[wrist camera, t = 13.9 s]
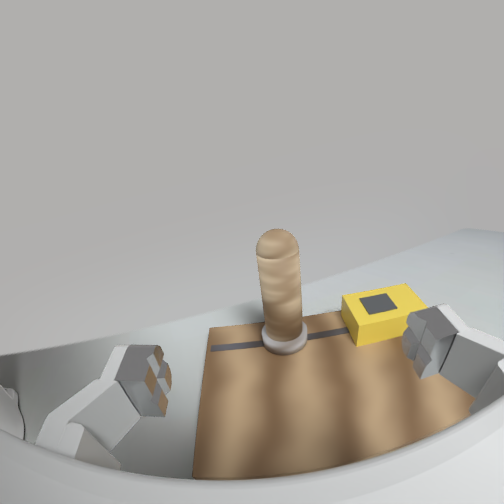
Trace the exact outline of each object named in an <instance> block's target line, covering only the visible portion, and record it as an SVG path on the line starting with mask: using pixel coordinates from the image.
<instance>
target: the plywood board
mask: <svg viewBox="0 0 504 504" xmlns="http://www.w3.org/2000/svg"><path fill="white" fill-rule="evenodd" d="M302 321H303V322H304V323H305V324H306V326H307V343H306V345H305V347H304V348H303V349H302V350H300V351H299V352H297V353H294V354H290V355H277V354H273V353H271V352H269V351H268V350H267V349H266V348H265V347H264V345H263V338H262V329H263V327H264V325H265V322H261V323H253V324H244V325H235V326H225V327H214V328H210V330H209V337H208V344H207V351H206V359H205V366H204V374H203V382H202V390H201V398H200V406H199V415H198V424H197V433H196V442H195V452H194V462H193V473H192V477H193V478H194V479H195V480H247V479H262V478H273V477H282V476H290V475H297V474H303V473H309V472H315V471H320V470H325V469H330V468H335V467H339V466H343V465H347V464H351V463H355V462H359V461H362V460H366V459H369V458H372V457H376V456H379V455H382V454H385V453H388V452H391V451H394V450H396V449H399V448H402V447H404V446H407V445H410V444H412V443H415V442H417V441H420V440H422V439H424V438H427V437H429V436H431V435H433V434H435V433H438V432H440V431H442V430H444V429H446V428H448V427H450V426H452V425H454V424H456V423H458V422H460V421H462V420H463V419H465V418H467V417H469V416H471V414H470V412H469V411H468V410H469V407H470V406H471V404H472V403H473V401H474V400H475V398H474V397H473V396H471V395H470V394H468V393H467V392H465V391H464V390H462V389H461V388H459V387H458V386H456V385H455V384H453V383H452V382H450V381H449V380H447V379H446V378H444V377H443V376H441V375H440V374H439V373H438V374H435V375H432V376H429V377H426V378H423V379H419V377H418V375H417V374H416V372H415V370H414V369H413V367H412V364H413V361H412V360H410V359H408V358H407V357H406V356H405V354H404V352H403V349H402V336H403V335H402V336H399V337H395V338H391V339H387V340H383V341H379V342H375V343H371V344H367V345H362V346H358V347H356V345H355V343H354V341H353V339H352V337H351V335H350V332H349V330H348V328H347V326H346V324H345V322H344V320H343V318H342V316H341V311H335V312H329V313H323V314H317V315H311V316H305V317H302Z"/></svg>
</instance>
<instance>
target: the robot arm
mask: <svg viewBox="0 0 504 504" xmlns="http://www.w3.org/2000/svg"><path fill="white" fill-rule="evenodd" d="M406 323H407V325H408V327H407V329H406V330H405V331H404V332H403V336H402V349H403V352H404V354H405V356H406V357H407V358H408V359H410V360H412V361H413V364H412V367H413V369H414V370H415V372H416V374H417V375H418V377H419V379H423V378H426V377H429V376H432V375H435V374H438V373H439V374H440V375H441V376H443V377H444V378H446V379H447V380H449V381H450V382H452V383H453V384H455V385H456V386H458V387H459V388H461V389H462V390H464V391H465V392H467V393H468V394H470V395H471V396H473V397H474V398H475V400H474V401H473V403H472V404H471V406H470V407H469V410H468V411H469V412H470V414H471V416H469V417H467V418H465V419H463V420H462V421H460V422H458V423H456V424H454V425H452V426H450V427H448V428H446V429H444V430H442V431H440V432H438V433H435V434H433V435H431V436H429V437H427V438H424V439H422V440H420V441H417V442H415V443H412V444H410V445H407V446H404V447H402V448H399V449H396V450H394V451H391V452H388V453H385V454H382V455H379V456H376V457H372V458H369V459H366V460H362V461H359V462H355V463H351V464H347V465H343V466H339V467H335V468H330V469H325V470H320V471H315V472H309V473H303V474H297V475H290V476H282V477H273V478H262V479H247V480H193V479H178V478H167V477H158V476H150V475H143V474H137V473H131V472H126V471H121V470H120V469H121V464H120V462H119V461H118V460H117V459H116V458H115V457H114V456H113V455H111V454H110V452H111V451H112V449H113V448H114V447H115V446H116V445H117V444H118V443H119V442H120V441H121V439H122V438H123V437H124V436H125V435H126V434H127V433H128V432H129V431H130V429H131V428H132V427H133V426H134V425H135V424H136V423H137V422H138V420H139V419H140V418H141V416H150V417H165V414H166V409H167V404H168V400H167V398H166V396H165V395H166V394H167V393H168V392H169V391H170V389H171V384H172V381H171V371H170V368H169V365H168V363H166V362H165V361H164V360H162V359H163V355H164V353H163V351H162V349H161V347H160V346H158V345H116V346H115V347H114V349H113V351H112V353H111V355H110V357H109V359H108V361H107V363H106V366H105V368H104V370H103V372H102V374H101V377H100V379H95V380H94V381H92V382H91V383H90V384H88V385H87V386H86V387H84V388H83V389H82V390H80V391H79V392H78V393H76V394H75V395H73V396H72V397H71V398H69V399H68V400H67V401H65V402H64V403H63V404H61V405H60V406H59V407H57V408H56V409H55V410H53V411H52V412H51V413H49V414H48V415H47V417H46V419H45V421H44V423H43V426H42V428H41V430H40V432H39V435H38V437H37V439H36V442H35V444H32V443H29V442H27V441H25V440H23V436H24V424H23V419H22V416H21V413H20V411H19V409H18V394H17V393H16V392H15V391H14V390H13V389H12V388H3V387H2V386H1V385H0V504H504V340H502V339H499V338H497V337H495V336H492V335H490V334H487V333H485V332H482V331H480V330H477V329H475V328H469V327H468V326H467V325H466V324H465V323H464V322H463V321H462V319H461V318H460V317H459V316H458V315H457V314H456V313H455V312H454V311H453V310H452V309H451V308H450V307H449V306H448V305H447V304H445V303H443V304H439V305H436V306H433V307H430V308H426V309H422V310H418V311H414V312H410V314H409V315H408V317H407V320H406Z"/></svg>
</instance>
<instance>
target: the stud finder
mask: <svg viewBox="0 0 504 504" xmlns="http://www.w3.org/2000/svg"><path fill="white" fill-rule="evenodd" d="M426 308H428V307H427V306H426V305H425V304H424V303H423V302H422V300H421V299H420V298H419V297H418V296H417V295H416V294H415V293H414V292H413V291H412V290H411V288H410V287H409V286H408V285H407V284H406V283H405V284H400V285H395V286H390V287H385V288H380V289H375V290H370V291H364V292H359V293H353V294H347V295H342V309H341V316H342V318H343V320H344V322H345V324H346V326H347V328H348V330H349V332H350V335H351V337H352V339H353V341H354V343H355V345H356V347H358V346H362V345H367V344H371V343H375V342H379V341H383V340H387V339H391V338H395V337H399V336H402V335H403V332H404V331H405V330H406V329H407V327H408V325H407V323H406V320H407V317H408V315H409V314H410V312H414V311H418V310H422V309H426Z"/></svg>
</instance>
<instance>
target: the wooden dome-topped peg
mask: <svg viewBox="0 0 504 504" xmlns="http://www.w3.org/2000/svg"><path fill="white" fill-rule="evenodd" d="M256 255H257V263H258V271H259V279H260V286H261V294H262V302H263V310H264V318H265V325H264V327H263V329H262V338H263V345H264V347H265V348H266V349H267V350H268V351H269V352H271V353H273V354H277V355H290V354H294V353H297V352H299V351H300V350H302V349H303V348H304V347H305V345H306V343H307V326H306V324H305V323H304V322H303V321H302V297H301V277H300V259H299V246H298V243H297V241H296V239H295V237H294V236H293V235H292V234H291V233H289V232H288V231H286V230H283V229H272V230H269V231H267V232H266V233H264V234H263V235H262V236H261V237H260V239H259V241H258V243H257V246H256Z"/></svg>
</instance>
